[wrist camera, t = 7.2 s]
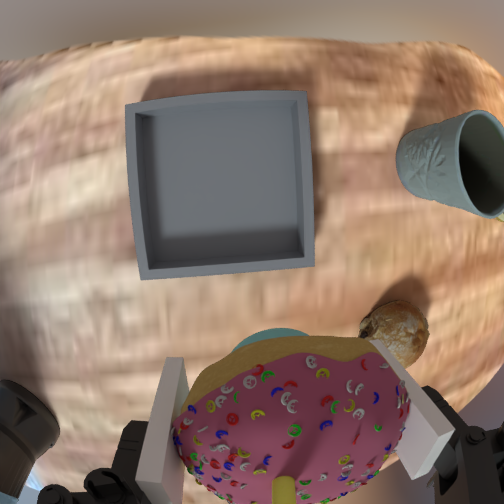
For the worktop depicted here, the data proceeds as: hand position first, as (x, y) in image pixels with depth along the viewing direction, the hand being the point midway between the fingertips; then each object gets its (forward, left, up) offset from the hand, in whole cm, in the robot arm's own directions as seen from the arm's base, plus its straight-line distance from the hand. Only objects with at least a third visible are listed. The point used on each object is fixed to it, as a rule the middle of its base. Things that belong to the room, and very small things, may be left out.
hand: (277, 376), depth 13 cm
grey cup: (+22, +10, -20) cm, 31 cm away
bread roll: (+18, -12, -20) cm, 30 cm away
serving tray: (-2, +8, -19) cm, 21 cm away
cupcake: (0, 0, -1) cm, 1 cm away
